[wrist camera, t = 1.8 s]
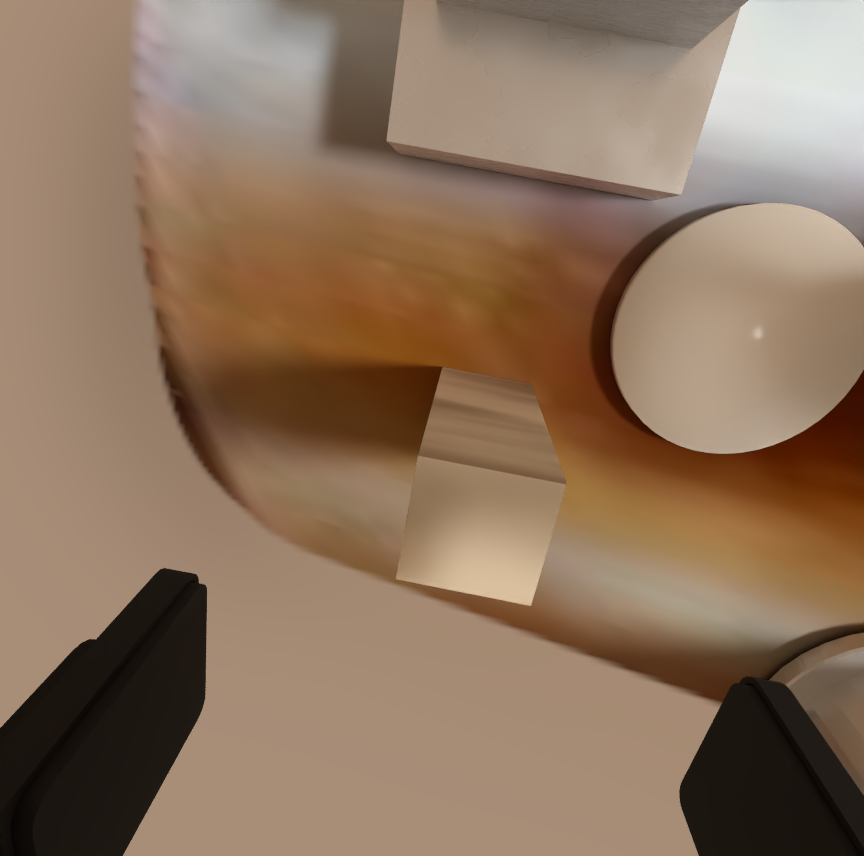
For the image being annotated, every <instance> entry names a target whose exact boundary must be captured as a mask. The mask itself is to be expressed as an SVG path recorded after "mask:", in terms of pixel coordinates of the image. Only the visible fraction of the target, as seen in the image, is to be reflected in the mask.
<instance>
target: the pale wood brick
mask: <svg viewBox="0 0 864 856" xmlns="http://www.w3.org/2000/svg"><path fill="white" fill-rule="evenodd" d="M566 486H567V483H566V480H565V478H564V475H563V472H562V469H561V466H560V463H559V461H558V458H557V455H556V452H555V449H554V446H553V444H552V441H551V438H550V435H549V432H548V429H547V427H546V424H545V421H544V418H543V415H542V412H541V410H540V407H539V404H538V401H537V398H536V395H535V393H534V390H533V387H532V384H530V383H525V382H520V381H514V380H509V379H504V378H499V377H493V376H488V375H483V374H478V373H472V372H467V371H462V370H457V369H451V368H446V367H442V371H441V374H440V378H439V381H438V385H437V389H436V392H435V396H434V400H433V403H432V407H431V410H430V414H429V418H428V421H427V425H426V428H425V432H424V436H423V439H422V443H421V447H420V450H419V454H418V458H417V464H416V470H415V475H414V481H413V486H412V492H411V497H410V503H409V509H408V514H407V520H406V525H405V531H404V537H403V542H402V548H401V553H400V559H399V565H398V570H397V576H396V579H398V580H403V581H408V582H413V583H418V584H423V585H428V586H433V587H438V588H443V589H449V590H454V591H459V592H464V593H469V594H474V595H479V596H484V597H489V598H494V599H499V600H504V601H509V602H514V603H519V604H524V605H529V606H531V604H532V600H533V597H534V594H535V590H536V587H537V584H538V580H539V577H540V573H541V570H542V567H543V563H544V560H545V557H546V553H547V550H548V547H549V543H550V540H551V536H552V533H553V530H554V526H555V523H556V520H557V516H558V513H559V510H560V506H561V503H562V500H563V496H564V493H565V489H566Z"/></svg>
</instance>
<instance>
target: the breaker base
mask: <svg viewBox="0 0 864 856" xmlns="http://www.w3.org/2000/svg"><path fill="white" fill-rule="evenodd" d="M747 1H748V0H404V4H403V12H402V20H401V28H400V36H399V44H398V52H397V60H396V68H395V76H394V84H393V92H392V100H391V108H390V116H389V124H388V132H387V140H386V141H387V142H388V143H389V144H390V145H391V146H392V147H393V148H394V149H395V150H396V151H397V152H398V153H399V154H403V155H408V156H414V157H419V158H424V159H430V160H435V161H441V162H446V163H452V164H457V165H463V166H468V167H474V168H479V169H484V170H490V171H495V172H501V173H506V174H512V175H517V176H523V177H528V178H534V179H539V180H544V181H550V182H555V183H561V184H566V185H572V186H577V187H583V188H588V189H594V190H599V191H604V192H610V193H615V194H621V195H626V196H632V197H637V198H643V199H648V200H658V199H663V198H668V197H673V196H678V195H681V194H682V191H683V187H684V184H685V181H686V178H687V175H688V172H689V168H690V165H691V162H692V159H693V156H694V153H695V149H696V146H697V143H698V140H699V137H700V134H701V130H702V127H703V124H704V121H705V118H706V114H707V111H708V108H709V105H710V102H711V99H712V95H713V92H714V89H715V86H716V83H717V80H718V76H719V73H720V70H721V67H722V64H723V61H724V57H725V54H726V51H727V48H728V45H729V42H730V38H731V35H732V32H733V29H734V26H735V23H736V19H737V16H738V13H739V10H740V7H741V6H742V5H743V4H745V3H746V2H747Z"/></svg>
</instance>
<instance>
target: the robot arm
mask: <svg viewBox="0 0 864 856" xmlns="http://www.w3.org/2000/svg"><path fill="white" fill-rule="evenodd" d="M206 617H207V588H206V585H204V584H199V580H198V576H197V575H196V574H192V573H187V572H182V571H176V570H171V569H166V568H164V569H160V570H159V571H158V572H157V573H156V574H155V575H154V576H153V577H152V578H151V579H150V581H149V582H148V583H147V584H146V585H145V586H144V587H143V588H142V589H141V591H140V592H139V593H138V594H137V595H136V596H135V597H134V598H133V599H132V601H131V602H130V603H129V604H128V605H127V606H126V607H125V608H124V609H123V611H121V613H120V614H119V615H118V616H117V617H116V618H115V620H113V622H112V623H111V624H110V625H109V626H108V627H107V628H106V629H105V631H103V633H102V634H101V635H100V636H99V637H98V638H97V639H96V640H95V639H89V640H87V641H85V642H83V643H81V644H80V645H79V646H78V647H77V648H75V649H74V650H73V651H72V652H71V653H70V654H69V655H68V656H67V657H66V658H65V659H64V661H63V662H62V663H61V664H60V665H59V666H58V667H57V668H56V669H55V670H54V671H53V672H52V673H51V674H50V676H49V677H48V678H47V679H46V680H45V681H44V682H43V683H42V684H41V685H40V686H39V687H38V688H37V689H36V691H35V692H34V693H33V694H32V695H31V696H30V697H29V698H28V699H27V700H26V701H25V702H24V703H23V704H22V706H21V707H20V708H19V709H18V710H17V711H16V712H15V713H14V714H13V715H12V716H11V717H10V718H9V720H7V722H6V723H5V724H4V725H3V726H2V727H1V728H0V856H123V854H124V852H125V850H126V849H127V847H128V845H129V843H130V841H131V840H132V838H133V836H134V834H135V832H136V830H137V828H138V827H139V825H140V823H141V821H142V820H143V818H144V816H145V814H146V812H147V810H148V809H149V807H150V805H151V803H152V801H153V799H154V798H155V796H156V794H157V792H158V791H159V789H160V787H161V785H162V783H163V781H164V780H165V778H166V776H167V774H168V772H169V770H170V768H171V767H172V765H173V763H174V761H175V760H176V758H177V756H178V754H179V752H180V750H181V749H182V747H183V745H184V743H185V741H186V740H187V738H188V736H189V734H190V732H191V731H192V729H193V727H194V725H195V723H196V721H197V719H198V718H199V716H200V713H201V711H202V708H203V704H204V700H205V683H206V621H207V620H206V619H207V618H206ZM680 803H681V807H682V811H683V813H684V816H685V818H686V822H687V824H688V827H689V830H690V833H691V835H692V838H693V841H694V843H695V846H696V849H697V852H698V854H699V856H864V633H858V634H853V635H848V636H845V637H842V638H839V639H836V640H833V641H830V642H827V643H824V644H822V645H820V646H818V647H816V648H813V649H811V650H809V651H807V652H805V653H803V654H801V655H800V656H798V657H797V658H795V659H794V660H792V661H791V662H789V663H788V664H786V665H785V666H783V667H782V668H781V669H780V670H779V671H778V672H777V673H776V674H775V675H774V676H773V677H772V678H771V679H769V680H765V679H760V678H754V677H744V678H743V679H742V680H741V681H740V682H739V684H738V683H735V684H733V685H732V686H731V687H730V689H729V691H728V693H727V695H726V697H725V699H724V701H723V703H722V705H721V707H720V709H719V711H718V712H717V715H716V716H715V718H714V720H713V723H712V724H711V726H710V728H709V730H708V732H707V734H706V736H705V738H704V740H703V742H702V744H701V745H700V747H699V749H698V751H697V753H696V755H695V757H694V759H693V761H692V763H691V765H690V767H689V769H688V771H687V773H686V775H685V777H684V779H683V780H682V783H681V786H680Z"/></svg>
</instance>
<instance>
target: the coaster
mask: <svg viewBox="0 0 864 856" xmlns="http://www.w3.org/2000/svg"><path fill="white" fill-rule="evenodd" d="M610 356H611V363H612V370H613V373H614V377H615V380H616V383H617V385H618V388H619V390H620V392H621V394H622V396H623V398H624V399H625V401H626V402H627V404H628V405H629V407H630V408H631V409H632V410H633V411H634V413H635V414H636V415H637V416H638V417H639V418H640V419H641V421H642V422H643V423H644V424H645V425H647V426H648V427H649V428H650V429H651V430H652V431H654V432H655V433H656V434H658V435H660V436H661V437H663V438H664V439H666V440H668V441H670V442H672V443H674V444H677V445H679V446H681V447H685V448H688V449H691V450H695V451H701V452H706V453H719V454H729V453H742V452H748V451H753V450H758V449H762V448H765V447H769V446H772V445H775V444H777V443H780V442H782V441H785V440H787V439H789V438H791V437H793V436H795V435H797V434H799V433H801V432H802V431H804V430H806V429H807V428H809V427H810V426H812V425H813V424H815V423H816V422H818V421H819V420H820V419H821V418H823V417H824V416H825V415H826V414H827V413H829V412H830V411H831V410H832V409H833V408H834V407H835V406H836V405H837V404H838V403H839V402H840V401H841V400H842V399H843V398H844V397H845V396H846V394H847V393H848V392H849V391H850V389H851V388H852V387H853V385H854V384H855V383H856V381H857V380H858V378H859V376H860V375H861V373H862V371H863V370H864V248H863V246H862V245H861V243H860V242H859V241H858V239H857V238H856V237H855V236H854V235H853V234H852V233H851V232H850V231H849V230H848V229H847V228H845V227H844V226H842V225H841V224H840V223H838V222H837V221H835V220H834V219H832V218H830V217H828V216H826V215H824V214H822V213H820V212H818V211H815V210H812V209H809V208H806V207H802V206H797V205H791V204H784V203H761V204H752V205H744V206H736V207H732V208H728V209H724V210H720V211H716V212H714V213H711V214H709V215H706V216H703V217H701V218H699V219H697V220H695V221H693V222H691V223H689V224H687V225H686V226H684V227H682V228H681V229H679V230H678V231H676V232H675V233H673V234H672V235H671V236H669V237H668V238H667V239H665V240H664V241H663V242H662V243H661V244H660V245H659V246H657V247H656V248H655V249H654V250H653V251H652V252H651V253H650V254H649V256H648V257H647V258H646V259H645V260H644V261H643V262H642V263H641V265H640V266H639V267H638V269H637V270H636V272H635V273H634V274H633V276H632V277H631V279H630V281H629V282H628V284H627V286H626V288H625V290H624V291H623V294H622V296H621V298H620V301H619V303H618V306H617V308H616V312H615V316H614V319H613V323H612V330H611V337H610Z"/></svg>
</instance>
